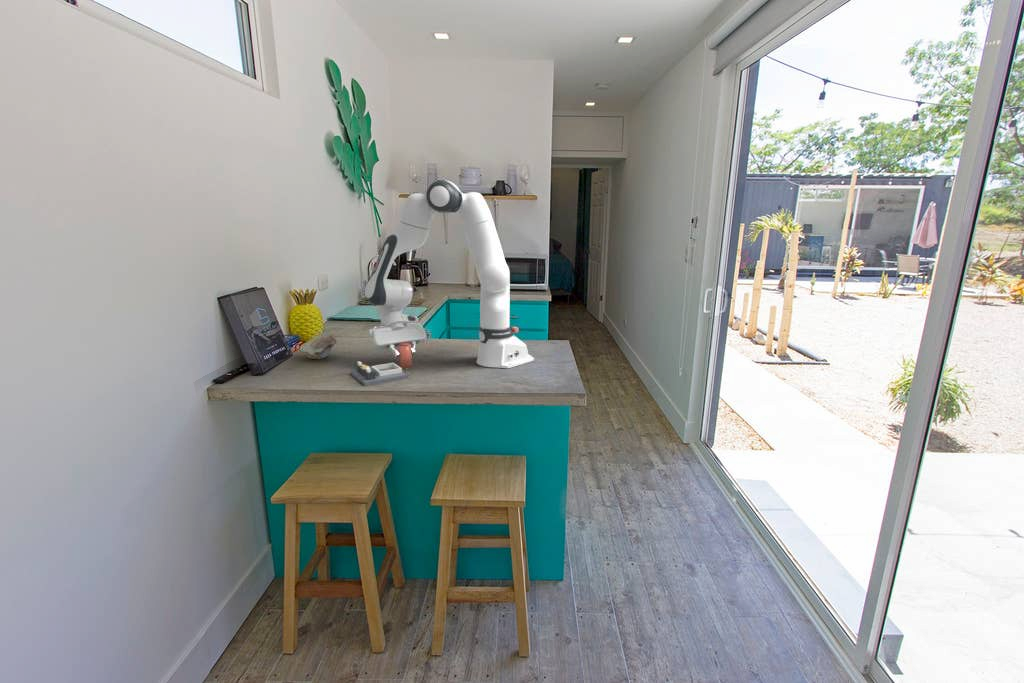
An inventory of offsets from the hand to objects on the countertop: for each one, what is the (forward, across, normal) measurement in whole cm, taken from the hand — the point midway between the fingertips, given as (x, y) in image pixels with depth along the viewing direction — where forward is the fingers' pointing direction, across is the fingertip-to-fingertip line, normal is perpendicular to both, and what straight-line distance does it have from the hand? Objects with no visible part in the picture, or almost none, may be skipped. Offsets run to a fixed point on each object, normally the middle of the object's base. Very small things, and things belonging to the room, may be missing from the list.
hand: (405, 354), depth 185 cm
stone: (-17, -24, +25) cm, 38 cm away
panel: (+6, -12, +1) cm, 14 cm away
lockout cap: (+3, 0, +4) cm, 5 cm away
